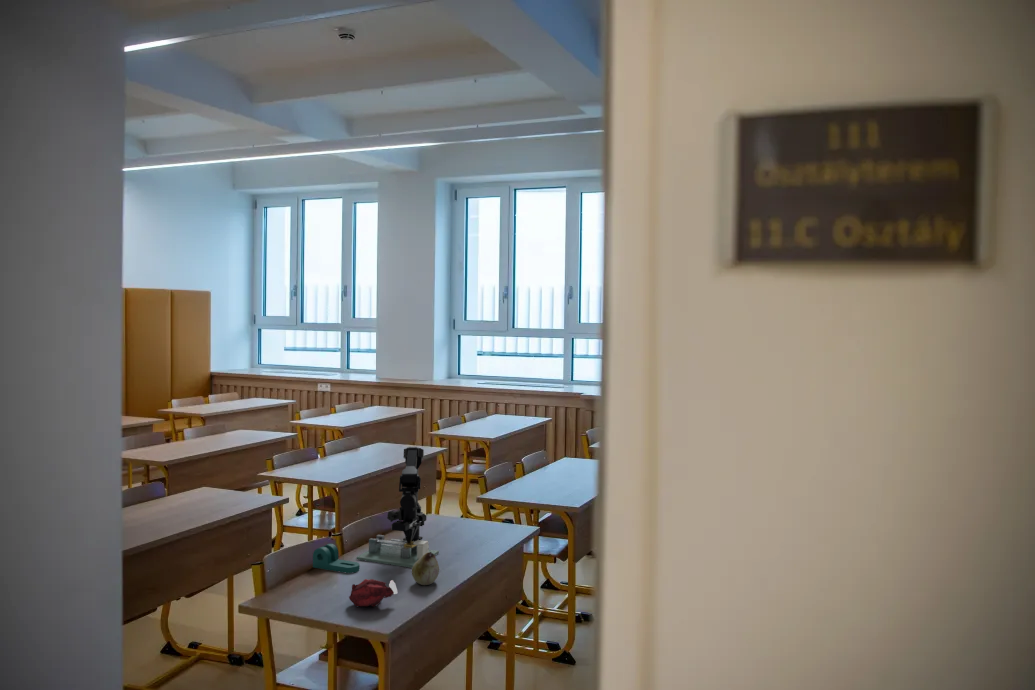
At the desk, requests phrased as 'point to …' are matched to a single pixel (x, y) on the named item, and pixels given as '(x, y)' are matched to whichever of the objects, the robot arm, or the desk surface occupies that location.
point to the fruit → (426, 569)
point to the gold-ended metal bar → (395, 543)
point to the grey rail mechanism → (391, 548)
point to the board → (391, 558)
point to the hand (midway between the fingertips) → (409, 543)
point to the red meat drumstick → (371, 592)
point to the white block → (421, 548)
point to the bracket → (332, 560)
